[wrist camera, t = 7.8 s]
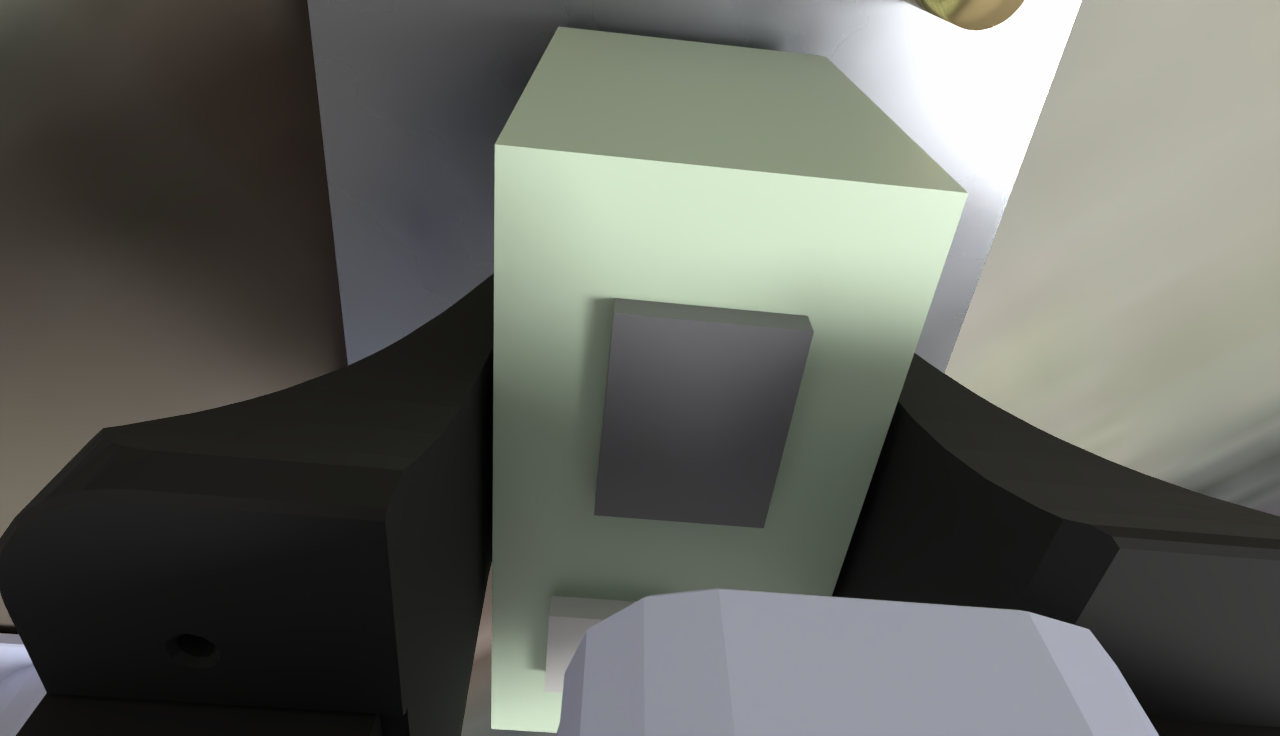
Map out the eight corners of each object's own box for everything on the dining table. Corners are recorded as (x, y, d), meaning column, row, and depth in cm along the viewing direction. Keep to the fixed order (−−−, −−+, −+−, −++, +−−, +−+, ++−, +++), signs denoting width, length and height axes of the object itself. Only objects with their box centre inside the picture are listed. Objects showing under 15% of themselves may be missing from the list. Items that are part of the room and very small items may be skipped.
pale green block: (735, 469, 16) (783, 767, 11) (539, 453, 16) (487, 749, 10) (825, 56, 12) (981, 205, 6) (558, 26, 11) (487, 154, 6)
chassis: (856, 555, 20) (894, 673, 17) (380, 519, 19) (333, 636, 16) (1127, -223, 12) (1296, -257, 9) (297, -335, 11) (168, -413, 8)
